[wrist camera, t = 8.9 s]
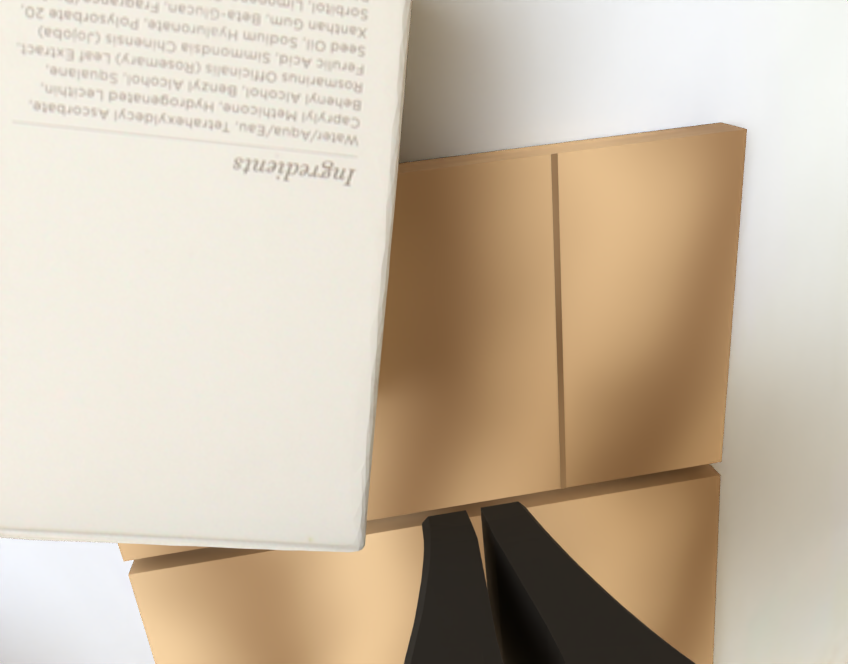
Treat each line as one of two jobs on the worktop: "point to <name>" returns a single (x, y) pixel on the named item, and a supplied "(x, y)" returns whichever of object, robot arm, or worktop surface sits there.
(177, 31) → the small box
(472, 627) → the robot arm
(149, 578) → the plank
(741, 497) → the worktop surface
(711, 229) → the laid board
